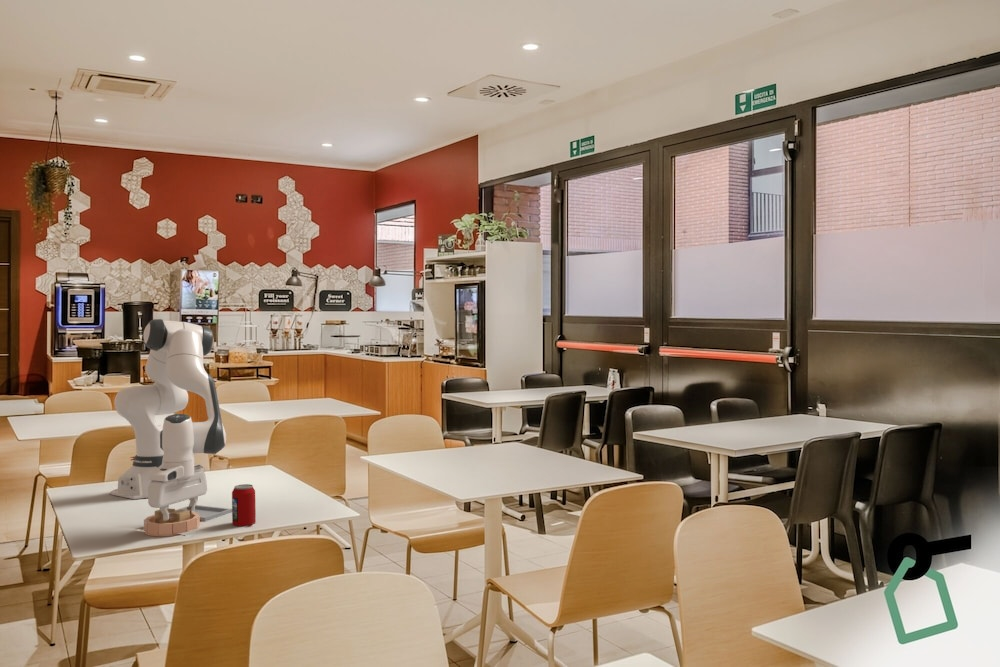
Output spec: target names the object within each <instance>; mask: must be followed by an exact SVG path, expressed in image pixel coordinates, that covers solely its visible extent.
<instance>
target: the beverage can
mask: <svg viewBox="0 0 1000 667" xmlns="http://www.w3.org/2000/svg"><path fill="white" fill-rule="evenodd" d="M231 509H232V512H231V514H232V515H231V516H232V518H231V519H232V520H231V521H232V525H233V526H235V527H246V528H249V527H252V526H253V525H254V524H255V523H256V516H257V515H256V489H255V488H254V485H253V484H249V483H248V484H247V483H246V484H237V485H235V486H234V487H233V489H232V492H231Z"/></svg>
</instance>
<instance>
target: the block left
mask: <svg viewBox="0 0 1000 667" xmlns="http://www.w3.org/2000/svg"><path fill="white" fill-rule="evenodd" d="M167 510H168V512H169V513H170V512H173V511H175V510H176V509H175V508H169V509H167ZM154 515H155V523H169V520H167V521H165V520H163V514H162V512H161V511H160V509H157V510H154Z"/></svg>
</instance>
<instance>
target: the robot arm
mask: <svg viewBox="0 0 1000 667" xmlns="http://www.w3.org/2000/svg"><path fill="white" fill-rule="evenodd" d="M142 335H143V342H144V345H145V347H146V348H147V349H149V353H148V356H147V360H146V363H145V366H144V370H145V374H146V376H147V378H149V379H150V380H151V381H153V383H152V384H146V385H144V384H143V385H136V386H135V385H133V386H130V387H126V388H122V389H120V390H118V392H117V393H116V395H115V398H114V403H113V404H114V409H115V411H116V412H117V414H118V415H120V416H121V417H122V418H124V419H125V420H126V422H128V423H129V424H130V426H131V428H132V430H133V433H134V436H135V450H136V452H135V453H136V455H135V456H132V457H130V461H133V462H132V463H131V464H132V465H131V466H130V467H129V468H128V469H127V470H126V471H125V472H123V473H122V474H121V475H119V477H118V482H117V488H116V489H113V490H111V491H110V492H109V493H110V495H111V496H116V497H120V498H125V499H126V498H127V499H130V500H137V499H147V503H148V506H150V507H151V508H155V509H159V510H160V511H161V512H162V514H163V520H165V521H167V520H170V519H171V514H170V513H169V512H168V510H167V509H170V508H169V507H170V506H171V505H174V504H177V503H180V502H185V501H187V500H189V504H188V505H187V506H188V507H187V506H186V507H187V511H190V513H192V512H195V505H197V503H198V498H199V497H200V496H204V495H206V494H207V491H208V483H207V482H208V481H207V476H206V473H205V467H203V466H204V465H201V464H197V465H195V455H194V454H208V455H209V454H211V455H217V454H218V453H219V452H220V451H222V450H223V449H224V448H225V446H226V443H227V432H226V428H225V427H224V424H223V421H222V414H221V409H220V403H219V398H218V391H217V388H216V383H215V379H214V377H213V375H212V374H209V373H207V371H206V370H205V366H204V356H207V355H208V354H210V352H211V351H212V348H213V346H214V340H215V339H214V338H215V337H214V332H213V331H212V329H211V328H210V327H209V326H206V325H202V324H200V325H199V324H195V323H192V322H188V321H178V320H167V319H166V320H165V319H164V320H163V319H161V318H158V319H151V320H149V321H148V323H147V325H146V326H145V328H144V330H143V334H142ZM188 392H191V393H194V394H196V395H198V396H200V397H202V398H203V399H204V402H205V403H204V404H205V407H206V414H207V415H206V416H207V420H205V421H193V420H192V417H191V416H190V415H189V414H185V413H177V412H180V411H183V410H184V409H186V407H187V405H188V403H189V393H188ZM170 414H171V415H170ZM160 415H161V416H162V415H168V416H166V417H164V419H163V426H162V425H159V424H157V422H156V420H155V416H160Z"/></svg>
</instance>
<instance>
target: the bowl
mask: <svg viewBox="0 0 1000 667" xmlns="http://www.w3.org/2000/svg"><path fill="white" fill-rule="evenodd" d="M200 524H201V521H200V515H199V514H198V513H196V512H192V513H190V519H189V520H186V521H181V522H174V523H155V514H152V515H149V516H147V517H146V518H145V519H143V531H144V534H145V535H147V536H150V537H157V538H159V537H161V538H162V537H163V538H164V537H165V538H166V537H176V536H181V535H183V534H182V533H186V532H191V531H193V530H195V529H196V530H197V529H198V528H199V526H200Z"/></svg>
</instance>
